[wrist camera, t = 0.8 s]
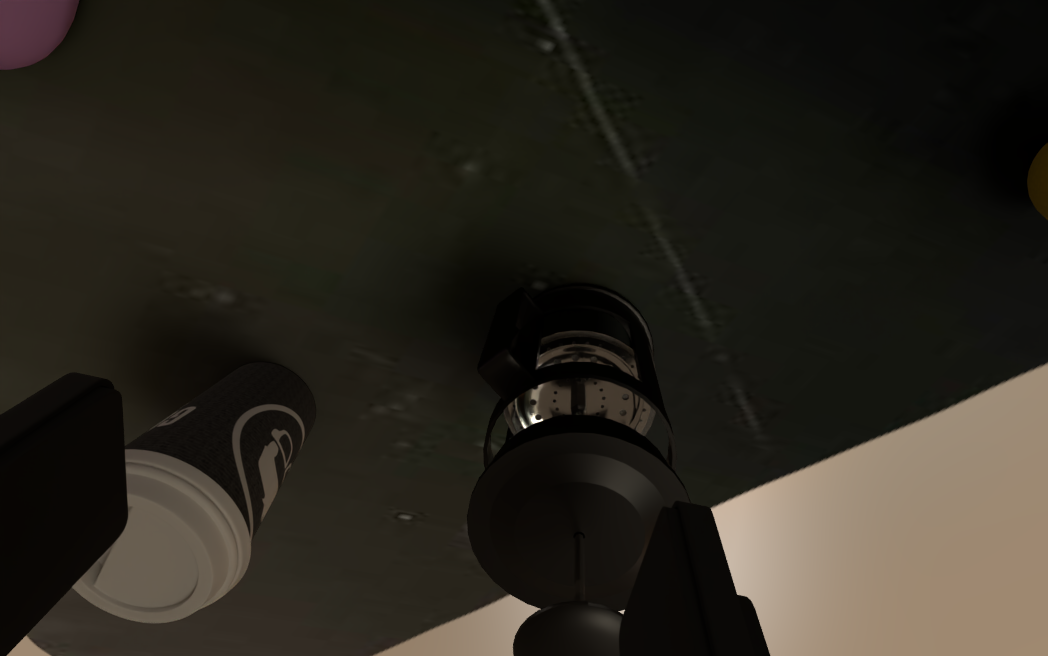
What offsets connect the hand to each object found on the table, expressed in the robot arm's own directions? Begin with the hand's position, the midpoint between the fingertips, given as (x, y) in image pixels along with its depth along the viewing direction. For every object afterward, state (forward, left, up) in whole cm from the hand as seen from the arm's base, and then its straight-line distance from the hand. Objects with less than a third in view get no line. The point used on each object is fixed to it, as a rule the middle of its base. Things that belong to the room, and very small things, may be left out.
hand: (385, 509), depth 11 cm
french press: (+9, +4, -29) cm, 31 cm away
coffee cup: (+16, -16, -29) cm, 37 cm away
